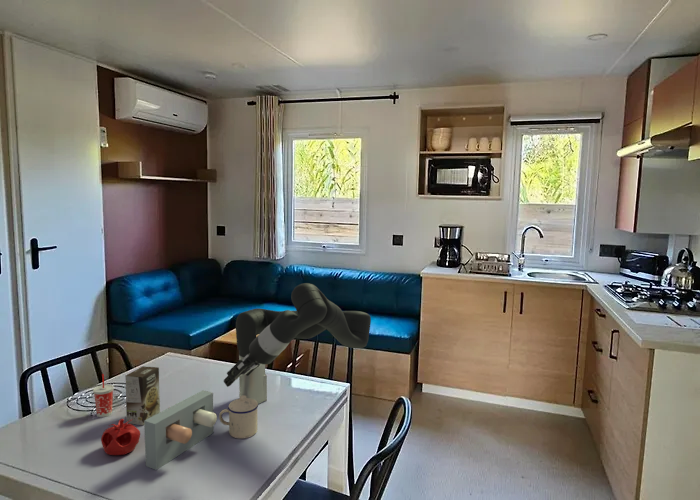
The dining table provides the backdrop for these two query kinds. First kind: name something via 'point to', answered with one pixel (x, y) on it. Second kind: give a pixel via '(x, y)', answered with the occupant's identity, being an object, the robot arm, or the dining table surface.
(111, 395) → the beverage cup
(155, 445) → the button panel
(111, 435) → the tomato
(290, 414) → the dining table surface
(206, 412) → the cream button
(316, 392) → the dining table surface
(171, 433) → the terracotta button
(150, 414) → the coffee box
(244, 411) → the teacup with lid
